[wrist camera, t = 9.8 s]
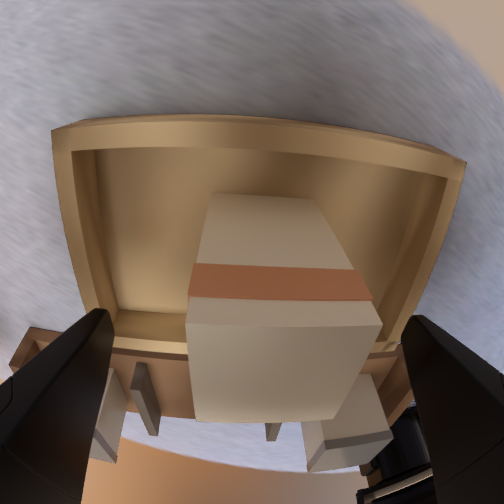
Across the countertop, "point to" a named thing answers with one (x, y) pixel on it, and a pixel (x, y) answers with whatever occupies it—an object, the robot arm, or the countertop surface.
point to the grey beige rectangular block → (348, 431)
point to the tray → (248, 183)
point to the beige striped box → (274, 314)
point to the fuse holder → (179, 383)
